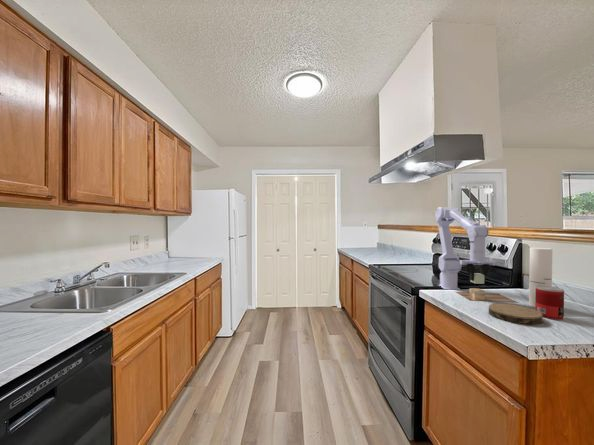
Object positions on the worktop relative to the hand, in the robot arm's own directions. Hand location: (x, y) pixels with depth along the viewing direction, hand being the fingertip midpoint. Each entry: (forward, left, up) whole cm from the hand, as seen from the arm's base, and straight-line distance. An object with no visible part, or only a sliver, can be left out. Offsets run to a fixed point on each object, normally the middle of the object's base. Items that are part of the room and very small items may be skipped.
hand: (477, 280), depth 126 cm
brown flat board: (-3, +5, -9) cm, 11 cm away
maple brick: (0, 0, -8) cm, 8 cm away
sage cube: (0, 0, -1) cm, 1 cm away
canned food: (+20, +16, -9) cm, 27 cm away
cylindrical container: (+8, +21, -9) cm, 24 cm away
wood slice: (+23, +2, -9) cm, 25 cm away
